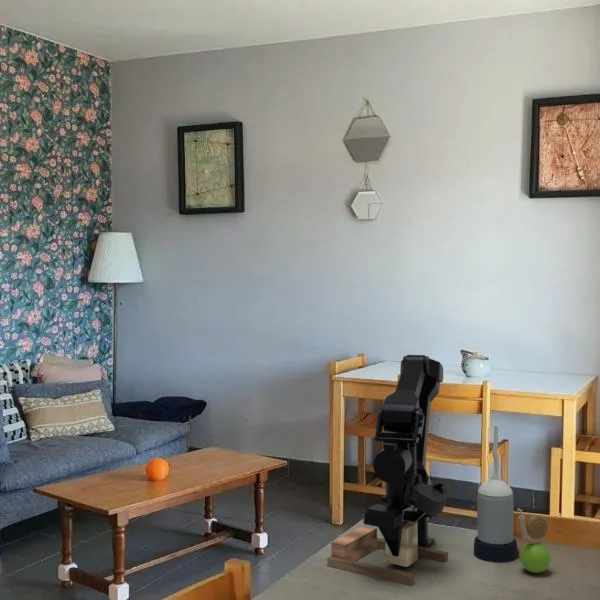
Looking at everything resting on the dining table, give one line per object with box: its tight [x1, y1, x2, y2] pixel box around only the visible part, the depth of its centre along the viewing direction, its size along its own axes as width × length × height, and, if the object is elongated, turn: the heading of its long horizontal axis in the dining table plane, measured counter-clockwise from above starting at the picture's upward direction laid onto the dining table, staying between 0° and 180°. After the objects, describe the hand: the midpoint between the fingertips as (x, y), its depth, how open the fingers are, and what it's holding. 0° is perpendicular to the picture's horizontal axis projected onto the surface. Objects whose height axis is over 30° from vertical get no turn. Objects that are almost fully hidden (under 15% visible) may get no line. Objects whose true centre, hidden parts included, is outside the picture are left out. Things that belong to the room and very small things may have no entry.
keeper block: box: [385, 520, 419, 568], centre depth 150 cm, size 4×4×7 cm
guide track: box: [326, 525, 449, 586], centre depth 152 cm, size 15×18×4 cm
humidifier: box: [473, 424, 520, 564], centre depth 155 cm, size 8×8×25 cm
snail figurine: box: [516, 508, 552, 574], centre depth 146 cm, size 5×6×12 cm
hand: (401, 552), depth 150 cm, fingers closed on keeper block, 4 cm apart
